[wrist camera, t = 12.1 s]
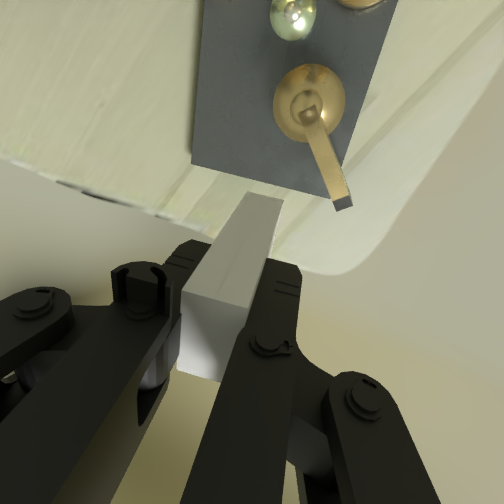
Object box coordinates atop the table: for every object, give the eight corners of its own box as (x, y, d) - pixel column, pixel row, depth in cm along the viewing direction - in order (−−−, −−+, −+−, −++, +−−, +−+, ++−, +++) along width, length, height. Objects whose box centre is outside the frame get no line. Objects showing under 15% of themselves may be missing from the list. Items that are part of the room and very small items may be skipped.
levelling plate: (227, -182, 21) (216, -210, 19) (445, -148, 20) (459, -174, 18) (195, 160, 34) (187, 165, 32) (329, 194, 32) (330, 201, 30)
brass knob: (264, 87, 27) (252, 88, 23) (329, 49, 25) (330, 42, 20) (312, 201, 31) (310, 221, 27) (372, 177, 29) (381, 195, 25)
